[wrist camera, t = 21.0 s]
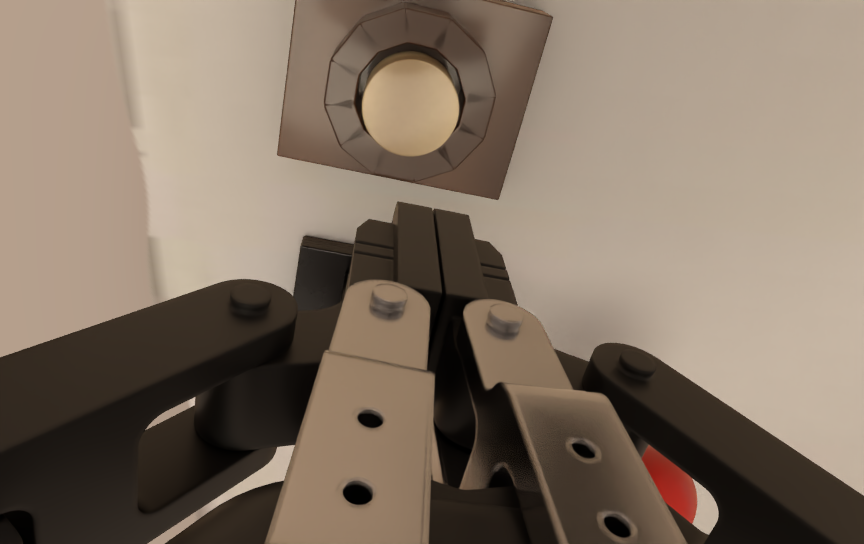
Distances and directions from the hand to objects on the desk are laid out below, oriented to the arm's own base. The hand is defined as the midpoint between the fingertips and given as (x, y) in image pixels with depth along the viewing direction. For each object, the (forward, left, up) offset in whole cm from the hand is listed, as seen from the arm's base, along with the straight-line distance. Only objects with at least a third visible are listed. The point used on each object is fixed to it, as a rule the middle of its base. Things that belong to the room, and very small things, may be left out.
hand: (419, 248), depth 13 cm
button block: (0, 0, -17) cm, 17 cm away
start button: (0, 0, -13) cm, 13 cm away
